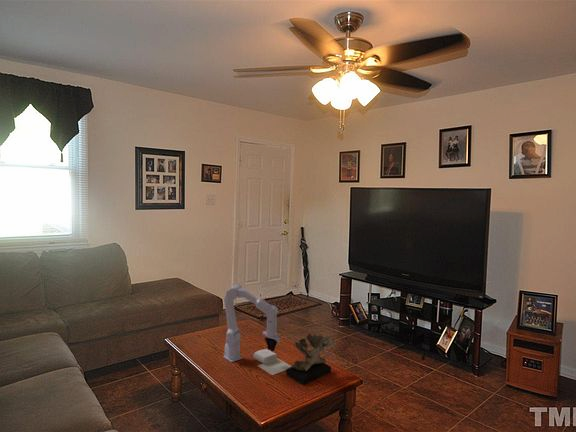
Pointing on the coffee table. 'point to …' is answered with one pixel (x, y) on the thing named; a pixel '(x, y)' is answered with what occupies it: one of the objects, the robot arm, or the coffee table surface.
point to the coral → (310, 360)
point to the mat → (275, 367)
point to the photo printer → (265, 356)
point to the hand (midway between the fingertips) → (271, 350)
